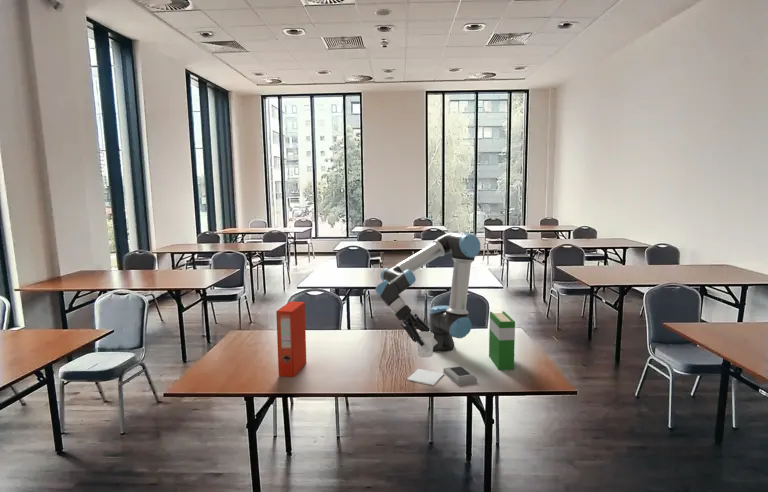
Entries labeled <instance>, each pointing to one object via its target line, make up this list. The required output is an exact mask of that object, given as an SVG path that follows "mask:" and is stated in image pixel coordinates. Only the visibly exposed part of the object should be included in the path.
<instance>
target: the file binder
mask: <svg viewBox="0 0 768 492" xmlns="http://www.w3.org/2000/svg"><path fill="white" fill-rule="evenodd" d="M305 305H306V303H305V301H288V302H287V303H285V304H284V305H283V306H281V307H280V308H278V309H277V310H276V311H275V313H276V334H277V335H276V338H277V343H276V344H277V362H278V363H277V364H278V370H277V371H278V376H279V377H288V378H294V377H295V376H296V375H297V374H298V373H299V372H300V371H301V370H302V369H303V367H304V366H305V365H306V364H307V344H306V343H307V341H306V340H307V336H306V306H305Z"/></svg>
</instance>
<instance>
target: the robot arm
mask: <svg viewBox="0 0 768 492" xmlns="http://www.w3.org/2000/svg"><path fill="white" fill-rule="evenodd" d="M481 247H482V246H481V242H480V239H479V238H478V236H476V235H475V234H473V233H470V232H469V233H468V232H461V231H450V232H447V233H444V234H442V235H441V236H438V237H437V238H436V239H433V241H432V243H431V244H430V245H426V247H424V248H422V249H421V250H419V251H417V252H416V253H414V254H412V255H411V256H409V257H408V258H406V259H404V260H402V261H400V262H399V263H397V264H396V265H394V266H392V267H391V268H389V267H385V268H383V269H382V270H381V272H380V278H381V282H379V284H377V285H376V287H375V289H374V290H375V292H376V294H377V295H378V297H379V298H380V299H381V300H382V301H383V302H384V304H385V305H386V306H387V307H388V309H389V310H390V311H391V312H392V314H394V316H395V317H396V318H397V319H398V321H402V323H400V325H401V326H402V328H403V329H404V330H405V332H406V333H407V335H408V336H409V337H410V339H411V341H413V342H414V343H417V342H418V343H419V344H420V345H421V347H422V348H423V349H424V350H425V351H426V353H427V352H428V351H429V350H430V349H431V348H430V347H429V346H428V344H427V343H426V342H425V341H424V340H423V339H422V337H421V338H420V336H419V334H418V332H423V331H426V332H432V333H433V334H434V343H433V352H438V353H444V352H445V353H447V352H451V351H453V350H454V349H455V342H454V341H455V340H454V339H453V338H456V339H463V338H465V337H466V336H467V335H469V333H471V330H472V321H471V320H470V318H469V311H468V310H467V302H468V292H469V283H470V275H471V266H472V263H473V262H474V261H475V258H476V257H477V256H478V255H479V253H480V251H481ZM447 254H451V259H452V261H453V268H452V277H451V279H452V280H451V288H450V289H451V290H450V296H449V297H450V298H449V305H435V306H432V307H430V309H429V327H428V325H426V323H425V322H424V321H423V320H422V318H420V317H419V316H418V314H417V313H415V314H412V313H411V312H412V309H411V308H410V306H409V305H407V303H406V302H405V301H404V299H403V298H402V297H401V296H400V295H401V293H403V292H404V291H405V290H406V289H407V290H408V288H409V287H412V285H413V284H415V282H416V281H417V279H416V276H415V274H414V272H415V271H417V270H418V269H420V268H421V267H424V266H425V265H427V264H429V263H430V262H432V261H433V260H435V259H436V258H438V257H444V256H445V255H447ZM417 329H418V330H419V331H417Z"/></svg>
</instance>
